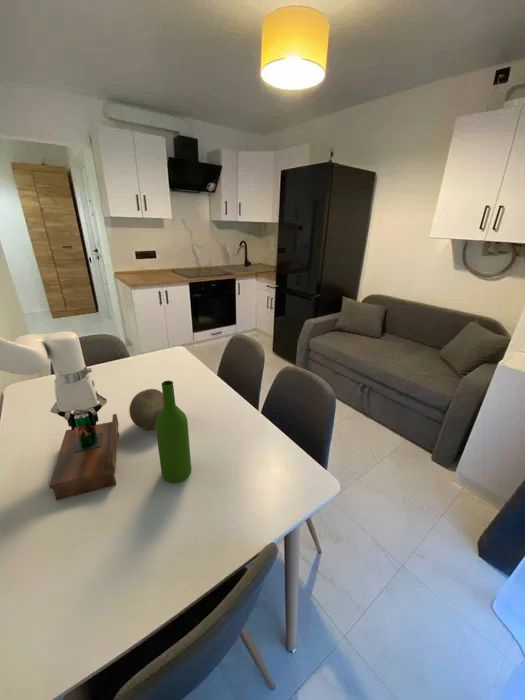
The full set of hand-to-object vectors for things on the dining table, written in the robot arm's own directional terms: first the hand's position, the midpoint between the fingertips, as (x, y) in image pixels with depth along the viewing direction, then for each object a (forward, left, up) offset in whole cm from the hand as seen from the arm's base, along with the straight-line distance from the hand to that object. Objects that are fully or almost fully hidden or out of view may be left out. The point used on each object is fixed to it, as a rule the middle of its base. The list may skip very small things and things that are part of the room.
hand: (84, 424), depth 91 cm
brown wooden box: (0, -3, -13) cm, 13 cm away
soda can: (0, 0, -7) cm, 7 cm away
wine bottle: (+25, -16, -13) cm, 33 cm away
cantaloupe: (+19, +10, -13) cm, 25 cm away
